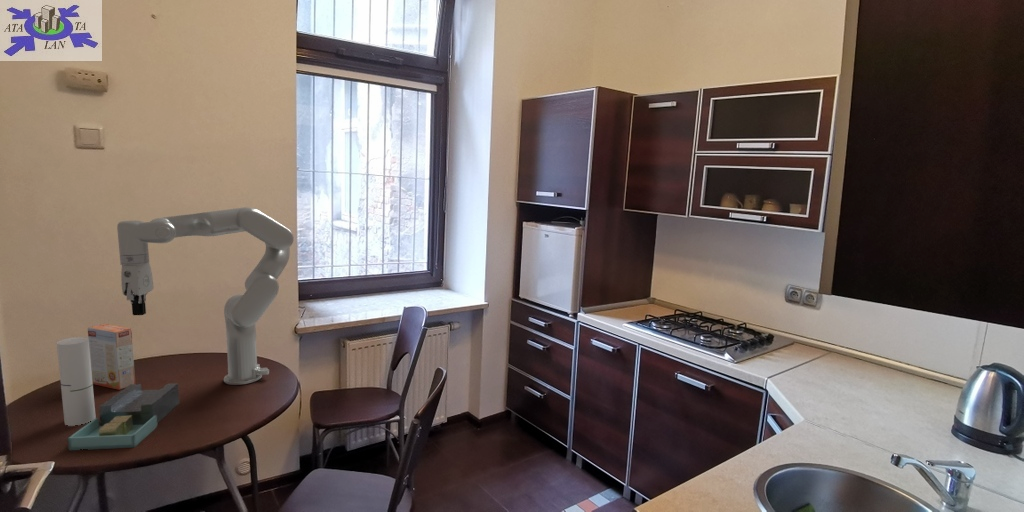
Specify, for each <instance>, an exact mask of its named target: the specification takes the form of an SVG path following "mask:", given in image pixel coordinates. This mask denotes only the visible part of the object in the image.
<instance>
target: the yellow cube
mask: <svg viewBox="0 0 1024 512" xmlns="http://www.w3.org/2000/svg"><path fill="white" fill-rule="evenodd" d="M109 435H124V433H123V422H116V423H106V424H105V425H104V426H103V427H102V428H100V429H99V436H109Z"/></svg>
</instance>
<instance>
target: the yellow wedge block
mask: <svg viewBox="0 0 1024 512" xmlns="http://www.w3.org/2000/svg"><path fill="white" fill-rule="evenodd" d="M116 422H123V433H124V435H127V434H128V433H129V432H130V431H131V430H132V429H133V422H132V415H128V416H116V417H115V418H114V419H113V420H112V421H110V422H109V423H116Z"/></svg>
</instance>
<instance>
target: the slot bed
mask: <svg viewBox="0 0 1024 512" xmlns="http://www.w3.org/2000/svg"><path fill="white" fill-rule="evenodd" d="M179 393H180V392H179V383H178V382H174V383H173V382H172V383H171V382H170V383H167V384H165V385H164V386H163V387H161V388H160V389H142V384H141V383H138V384H137V383H135V384H131V385H129V386H128V387H126V388H123V389H121V390H119V392H118V393H116V394H114V395H113V396H112V397H110V398H109V399H108V400H106V401H105V402H103V403H102V404H101V405H99V422H100V426H104V425H105V424H106V423H109V422H110V421H112V420H113V419H114V418H115V417H116V416H128V415H132V422H133V425H144V424H145V423H146V422H147V421H149V420H150V419H151V418H152V417H153V416H157V424H158V423H159V422H161V420H163V419H164V418H165V417H166V416H167V415H168V414H170V412H172V411H173V410H174V409H175V408H176V407H177V406H178V405H179V404H180V395H179Z"/></svg>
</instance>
